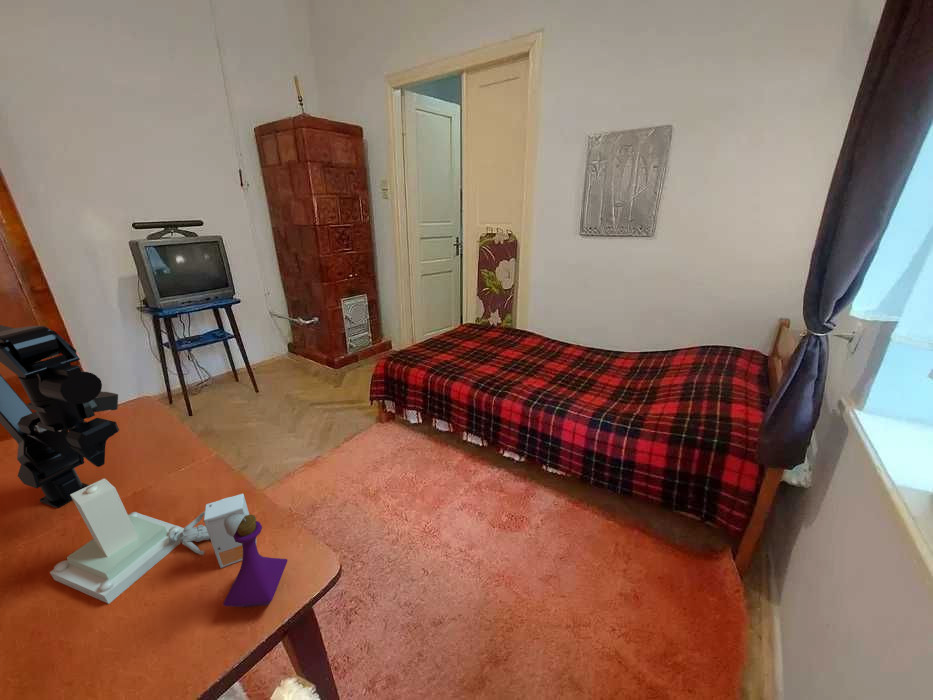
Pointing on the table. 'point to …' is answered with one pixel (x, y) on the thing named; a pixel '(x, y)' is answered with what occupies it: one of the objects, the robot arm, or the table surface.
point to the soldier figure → (191, 535)
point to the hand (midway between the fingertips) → (85, 461)
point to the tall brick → (105, 516)
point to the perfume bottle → (252, 565)
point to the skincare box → (214, 522)
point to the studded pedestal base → (117, 560)
